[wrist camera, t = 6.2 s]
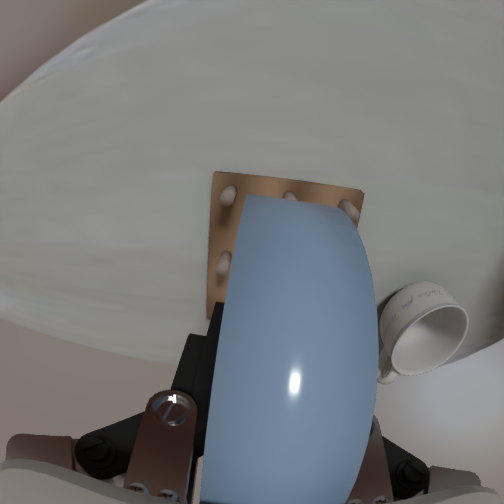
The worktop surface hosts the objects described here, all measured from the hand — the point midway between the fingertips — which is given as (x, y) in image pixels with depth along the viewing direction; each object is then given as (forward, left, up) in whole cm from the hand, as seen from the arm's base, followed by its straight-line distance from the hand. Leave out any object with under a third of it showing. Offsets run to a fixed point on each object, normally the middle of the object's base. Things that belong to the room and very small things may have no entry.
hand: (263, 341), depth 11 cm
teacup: (-20, +13, -22) cm, 32 cm away
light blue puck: (0, 0, -4) cm, 4 cm away
